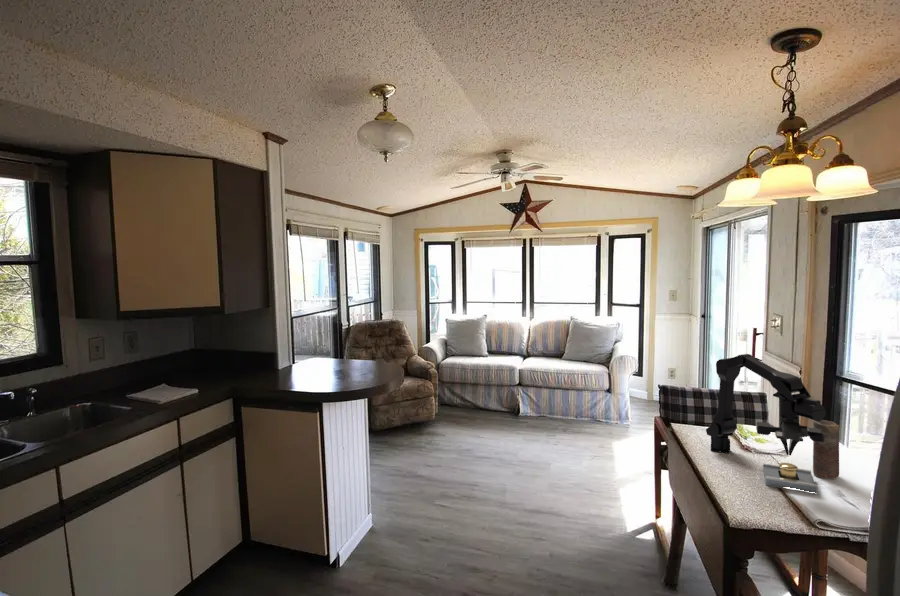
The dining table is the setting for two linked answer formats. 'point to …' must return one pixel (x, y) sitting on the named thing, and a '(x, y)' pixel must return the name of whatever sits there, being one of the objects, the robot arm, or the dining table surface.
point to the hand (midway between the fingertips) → (788, 454)
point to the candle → (826, 450)
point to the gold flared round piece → (788, 470)
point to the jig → (802, 479)
